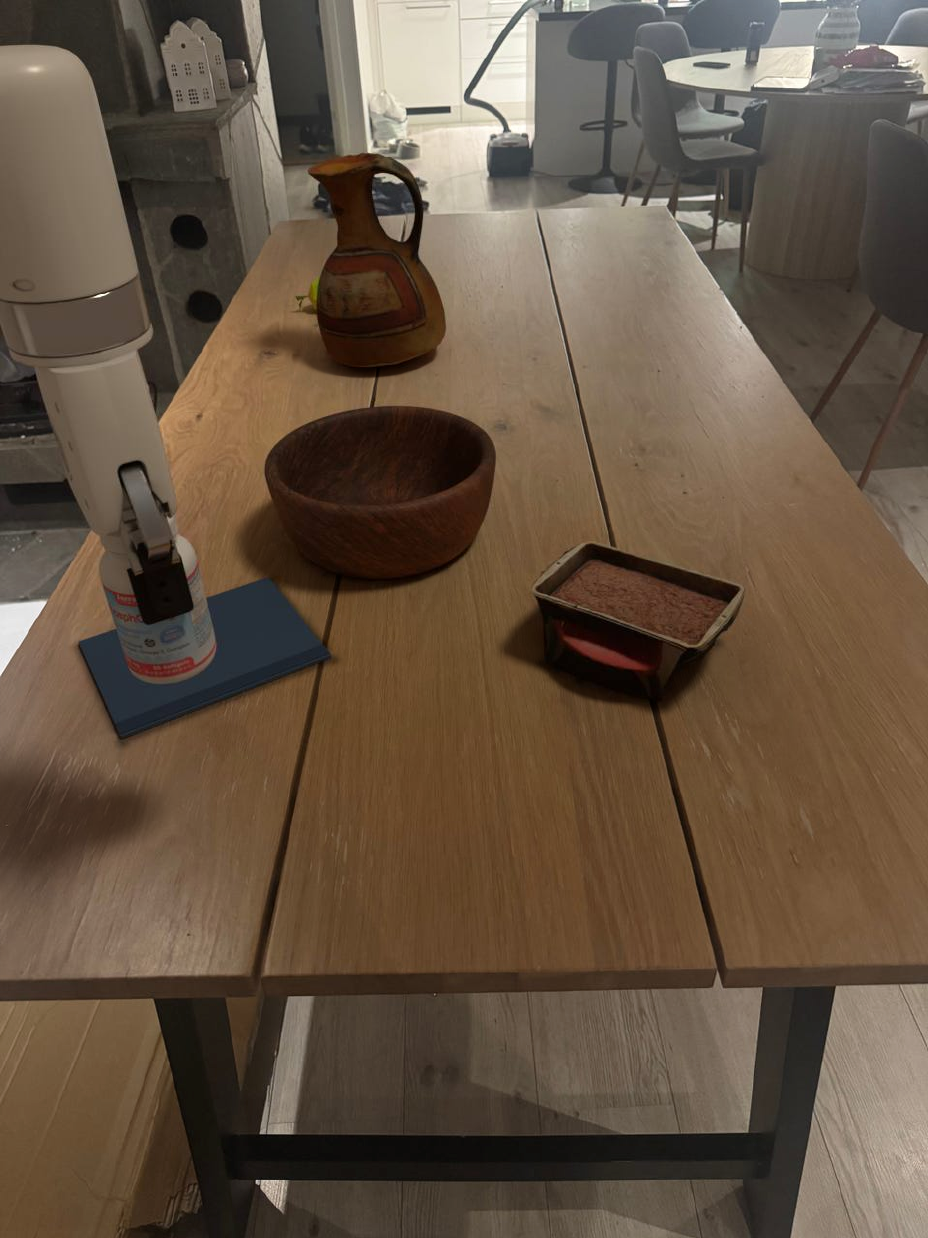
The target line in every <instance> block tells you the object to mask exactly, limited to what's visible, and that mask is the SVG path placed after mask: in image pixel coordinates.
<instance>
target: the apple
mask: <svg viewBox="0 0 928 1238" xmlns="http://www.w3.org/2000/svg"><path fill="white" fill-rule="evenodd" d="M319 279H320V277H319V278H317V279H315V280H313V281H311V283H310V286H309V290H308V293H307V295H294V298H295V299H296V301H297V302H298V301H300V302H299V304H298V307H299V309H300V310H301V309H302V304H303V301H304V299H306V298H308V299H309V301H310V303H311V305H312V307H313V309H314V310H316V311H317V309H316V306H317V289H318V283H319Z"/></svg>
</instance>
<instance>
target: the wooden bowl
mask: <svg viewBox="0 0 928 1238" xmlns="http://www.w3.org/2000/svg"><path fill="white" fill-rule="evenodd" d="M496 464H497V451H496V448H495V444H494V442H493V440H492V438H491V436H490V435H489V434H488V433H487V432H486V430H485V429H483V428H482V427H481V426H479V425H478V424H476V423H475V422H473V421H471V420H469V419H467V418H465V417H463V416H460V415H458V414H456V413H452V412H449V411H445V410H440V409H437V408H431V407H430V408H429V407H425V406H423V407H422V406H413V405H412V406H411V405H382V406H379V405H378V406H372V407H371V406H370V407H368V406H367V407H361V408H355V409H350V410H345V411H344V410H343V411H340V412H336V413H332V414H328V415H326V416H323V417H320V418H316V419H314V420H311V421H309V422H307V423H304V424H303V425H300V426H298V427H297V428H295V429H293V430H292V431H290V432H288V433H287V434H285V435H284V436H283V437H282V438H281V439H280V440H278V441H277V442H276V443H275V444H274V446H273V447H271V449H270V450H269V452H268V454H267V455H266V459H265V462H264V469H263V471H264V478H265V482H266V485H267V489H268V492H269V495H270V498H271V501H272V503H273V506H274V509H275V512H276V514H277V517H278V519H279V521H280V523H281V525H282V527H283V529H284V531H285V533H286V534H287V536H288V538H289V539H290V541H292V543H293V544H294V545H295V546H296V548H297V549H298V550H299V551H300V552H301V553H302V554H303V555H304V556H305V557H306V558H307V559H308V560H309V561H311V562H312V563H314V564H315V565H317V566H318V567H320V568H323V569H325V570H327V571H329V572H332V573H335V574H337V575H341V576H344V577H349V578H355V579H363V580H392V579H400V578H406V577H411V576H415V575H420V574H423V573H426V572H429V571H432V570H435V569H437V568H439V567H441V566H443V565H446V563H448V562H450V561H452V560H453V559H455V558H456V557H457V556H459V555H460V554H462V552H464V551H465V550H466V549H467V548H468V547H469V546H470V545H471V543H472V542H473V540H474V539H475V538H476V536H477V535H478V533H479V531H480V529H481V527H482V526H483V524H484V521H485V519H486V516H487V513H488V510H489V507H490V503H491V498H492V494H493V493H492V492H493V487H494V481H495V472H496Z"/></svg>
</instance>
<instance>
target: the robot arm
mask: <svg viewBox="0 0 928 1238" xmlns="http://www.w3.org/2000/svg"><path fill="white" fill-rule="evenodd" d="M98 99H99V98H98V96H97V91H96V88H95V85H94V82H93V78H92V77H91V74H90V72H89V70H88V68H87V67H86V65H85V63H84V62H83V61H82V60H81V59H80V58H79V57H78V56H77V55H76V54H75V53H73V52H71V51H70V50H68V49H65V48H61V47H59V46H55V45H45V44H44V45H43V44H15V45H11V44H10V45H0V328H1V331H2V333H3V337H4V341H5V343H6V345H7V348H8V351H9V354H10V357H11V359H12V360H13V361H15V362H17V363H18V364H19V363H20V364H22V365H24V366H28V367H33V368H34V372H35V377H36V380H37V383H38V388H39V390H40V393H41V394H40V395H41V397H42V400H43V401H42V402H43V404H44V407H45V410H46V414H47V417H48V420H49V423H50V426H51V430H52V433H53V436H54V439H55V442H56V445H57V448H58V452H59V455H60V460H61V462H62V466H63V469H64V474H65V476H66V479H67V481H68V485H69V487H70V489H71V491H72V494H73V496H74V497H75V499H76V502H77V504H78V506H79V508H80V510H81V513H82V514H83V516H84V517H85V520H86V522H87V524H88V525H89V527H90V529H91V531H92V532H93V533H94V534H95V535H97V536H99V537H100V536H101V537H107V536H108V534H109V533H113V532H117V531H119V534H120V536H121V539H122V542H123V545H124V548H125V551H126V554H127V557H128V560H129V563H130V566H131V568H129V569H126V570H127V573H128V576H129V579H130V583H131V586H132V589H133V592H134V596H135V599H136V602H137V606H138V609H139V612H140V615H141V618H142V620H143V622H144V623H145V624H146V625H151V624H155V623H158V622H161V621H164V620H167V619H170V618H173V617H176V616H179V615H182V614H185V613H188V612H190V611H192V610H193V608H194V604H193V600H192V596H191V592H190V589H189V585H188V581H187V577H186V573H185V569H184V566H183V562H182V558H181V556H180V554H179V553H178V550H177V547H176V544H175V541H174V538H173V535H172V532H171V529H170V526H169V523H168V520H167V516H168V517H169V518H172V517H173V516H174V514H175V515H176V513H177V511H178V502H177V496H176V491H175V490H176V489H175V487H174V486H175V485H174V481H173V477H172V472H171V469H170V464H169V460H168V456H167V452H166V448H165V444H164V441H163V440H164V439H163V435H162V432H161V429H160V426H159V422H158V418H157V415H156V411H155V406H154V403H153V401H152V396H151V392H150V386H149V384H148V382H147V378H146V375H145V374H146V373H145V371H144V367H143V364H142V360H141V357H140V354H139V349H141V348H143V347H144V346H146V345H147V344H148V343H150V341H151V340H152V339H153V336H154V328H153V325H152V321H151V317H150V312H149V308H148V304H147V300H146V296H145V292H144V291H145V290H144V287H143V283H142V279H141V275H140V271H139V267H138V263H137V258H136V253H135V249H134V246H133V241H132V237H131V233H130V229H129V224H128V221H127V216H126V212H125V209H124V204H123V200H122V196H121V191H120V188H119V183H118V180H117V175H116V171H115V166H114V162H113V158H112V154H111V150H110V146H109V142H108V141H109V140H108V137H107V133H106V129H105V123H104V120H103V116H102V112H101V108H100V105H99V100H98ZM128 510H132V512H133V515H134V517H135V518H134V519H130V520H127V521H124V520H123V517H122V512H125V511H128ZM136 530H140V534H141V540H142V543H139V544H138V546H137V547H138V549H137V550H136V547H135V544H134V541H133V538H132V535H131V532H133V531H136Z"/></svg>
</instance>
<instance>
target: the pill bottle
mask: <svg viewBox="0 0 928 1238" xmlns="http://www.w3.org/2000/svg"><path fill="white" fill-rule="evenodd" d="M122 517H123V520H124V521H127V520H130V519H134V518H135V517H134V515H133V512H132V510H128V511H125V512H122ZM167 520H168V523H169V526H170V529H171V532H172V535H173V538H174V541H175V544H176V547H177V550H178V553H179V554H180V556H181V558H182V562H183V566H184V569H185V573H186V577H187V581H188V585H189V589H190V592H191V596H192V600H193V604H194V608H193V610H192V611H190V612H188V613H185V614H182V615H179V616H176V617H173V618H170V619H167V620H164V621H161V622H158V623H155V624H151V625H146V624H145V623H144V622H143V620H142V618H141V615H140V612H139V609H138V606H137V602H136V599H135V596H134V592H133V589H132V586H131V583H130V579H129V576H128V573H127V570H126V569H129V568H131V566H130V563H129V560H128V557H127V554H126V551H125V548H124V545H123V542H122V539H121V536H120V534H119V531H117V532H113V533H109V534H108V536H107V537H101V536H99V539H100V544H101V546H102V547H103V548H104V550H105V551H104V552H103V554H102V555H101V557H100V560H99V564H98V573H99V574H98V576H99V579H100V582H101V585H102V588H103V592H104V594H105V597H106V601H107V604H108V607H109V611H110V615H111V616H112V620H113V623H114V627H115V629H116V630H117V633H118V636H119V639H120V642H121V646H122V649H123V652H124V655H125V659H126V662H127V664H128V667H129V669H130V671H131V672H132V674H133V675H134V676H136V677H137V678H139V679H140V680H143V681H145V682H149V683H155V684H168V683H175V682H179V681H183V680H186V679H189V678H191V677H193V676H195V675H197V674H199V673H200V672H202V671H203V670H204V669H205V668H206V667H207V666H208V665H209V664H210V663H211V661H212V659H213V657H214V655H215V652H216V639H215V635H214V630H213V626H212V622H211V617H210V613H209V609H208V604H207V600H206V598H207V596H206V592H205V587H204V584H203V579H202V575H201V570H200V567H199V562H198V558H197V555H196V551H195V549H194V547H193V545H192V543H191V542H190V541H189V540H188V539H187V538H185V537H183V536H182V535H180V534H179V525H178V522H177V519H176V513H175V514H174V516H173V517H172V518H169V517H168V516H167ZM131 535H132V538H133V541H134V544H135V547H136V550H137V549H138V547H137V546H138V544H139V543H142V540H141V534H140V530H136V531H133V532H131Z"/></svg>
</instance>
